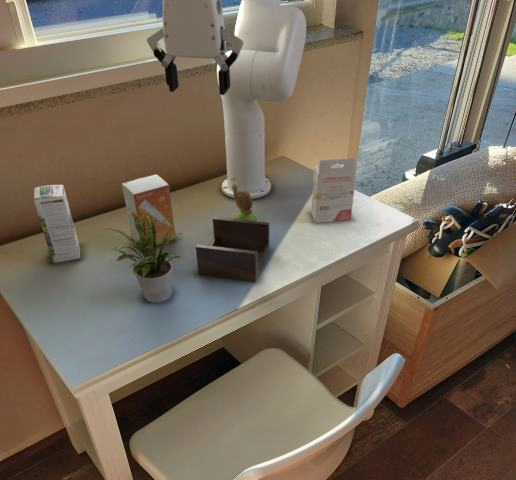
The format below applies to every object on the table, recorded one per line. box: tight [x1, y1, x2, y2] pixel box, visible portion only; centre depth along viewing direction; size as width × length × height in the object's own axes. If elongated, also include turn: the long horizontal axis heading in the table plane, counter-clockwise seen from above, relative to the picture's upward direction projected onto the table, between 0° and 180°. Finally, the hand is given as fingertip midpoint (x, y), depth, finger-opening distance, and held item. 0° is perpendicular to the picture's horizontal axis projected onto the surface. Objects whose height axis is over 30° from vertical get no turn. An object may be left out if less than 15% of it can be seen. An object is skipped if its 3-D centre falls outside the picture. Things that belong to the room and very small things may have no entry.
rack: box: [195, 216, 270, 283], centre depth 105 cm, size 12×12×6 cm
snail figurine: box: [231, 177, 258, 221], centre depth 112 cm, size 5×6×12 cm
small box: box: [121, 173, 177, 246], centre depth 110 cm, size 8×6×13 cm
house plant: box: [102, 209, 184, 304], centre depth 94 cm, size 14×14×16 cm
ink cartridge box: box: [311, 157, 357, 224], centre depth 116 cm, size 9×5×15 cm, turn 97°
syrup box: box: [33, 184, 81, 264], centre depth 105 cm, size 6×6×14 cm
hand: (198, 91), depth 95 cm, fingers open, 9 cm apart
